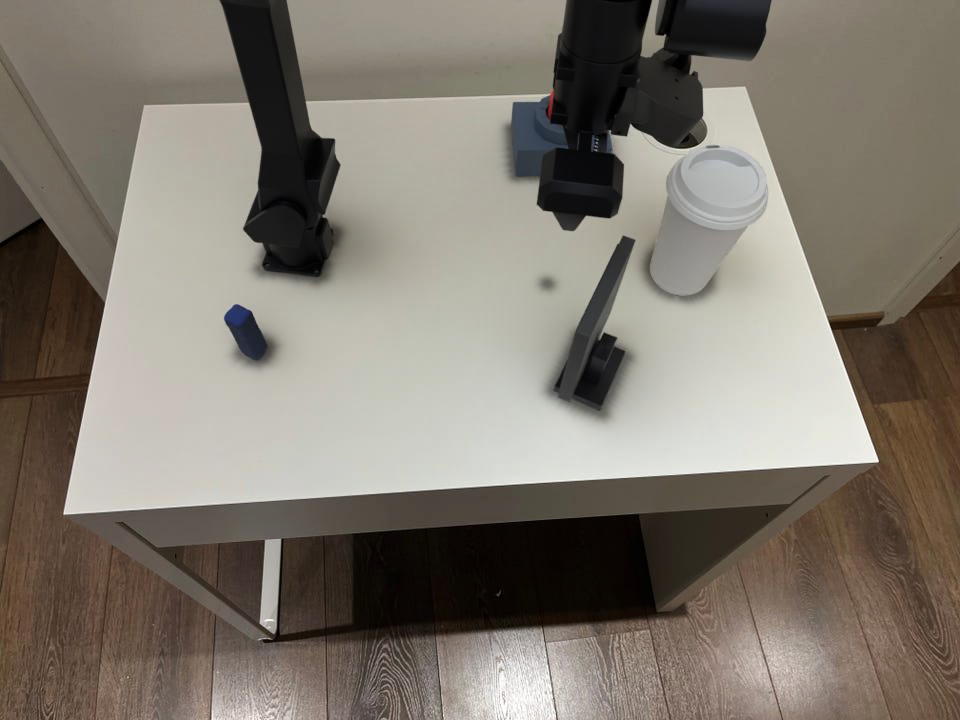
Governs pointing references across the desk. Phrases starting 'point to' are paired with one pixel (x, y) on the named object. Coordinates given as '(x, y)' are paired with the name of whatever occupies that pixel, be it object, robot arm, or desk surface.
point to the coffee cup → (705, 215)
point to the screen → (595, 317)
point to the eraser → (246, 331)
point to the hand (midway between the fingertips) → (572, 190)
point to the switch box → (536, 136)
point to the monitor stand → (597, 373)
